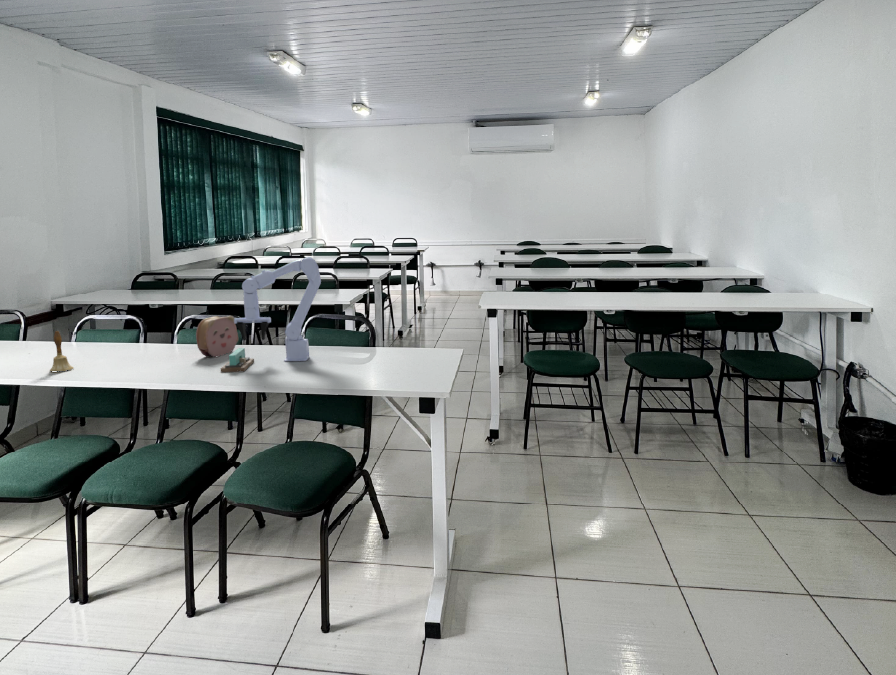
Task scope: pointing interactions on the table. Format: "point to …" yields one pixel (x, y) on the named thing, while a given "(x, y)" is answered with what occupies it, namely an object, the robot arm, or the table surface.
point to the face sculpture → (216, 335)
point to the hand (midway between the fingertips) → (254, 339)
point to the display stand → (238, 365)
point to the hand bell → (59, 356)
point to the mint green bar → (236, 356)
